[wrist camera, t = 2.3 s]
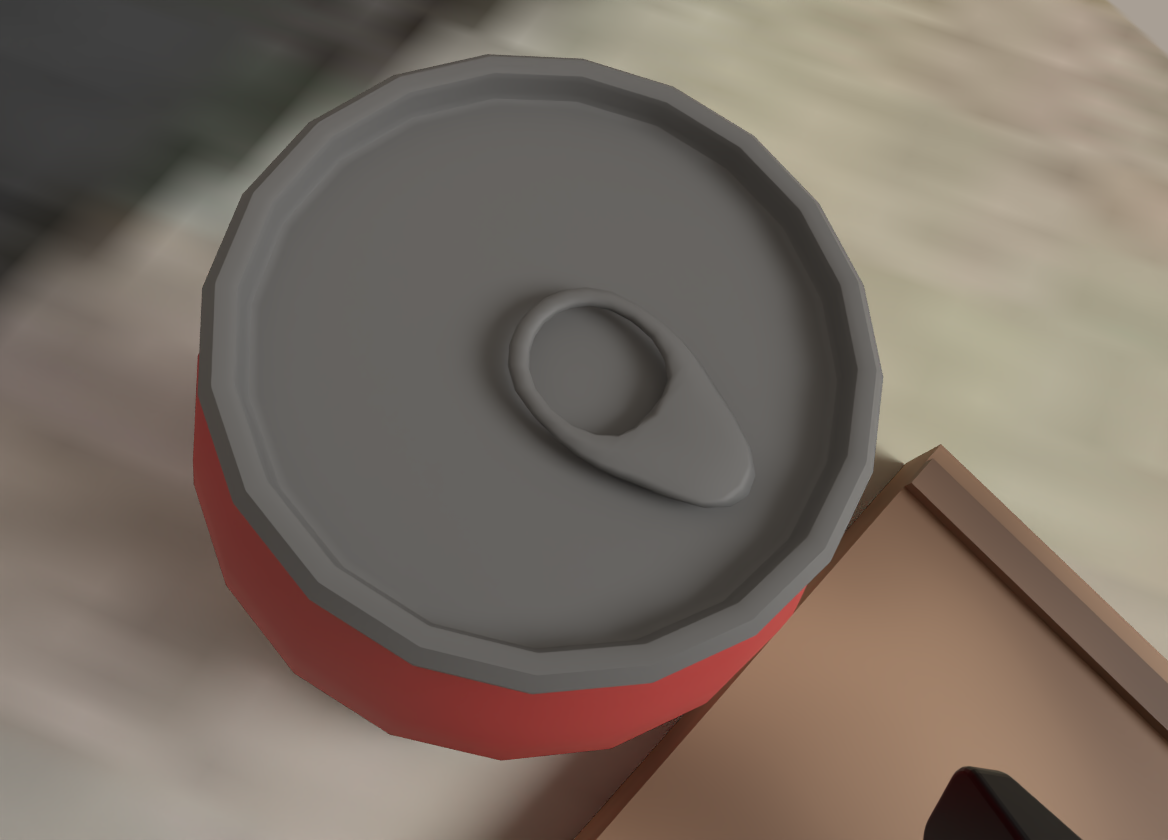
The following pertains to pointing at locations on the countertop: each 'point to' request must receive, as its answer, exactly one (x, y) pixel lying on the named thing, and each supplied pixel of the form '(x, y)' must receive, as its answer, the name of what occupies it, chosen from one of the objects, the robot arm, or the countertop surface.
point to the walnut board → (919, 691)
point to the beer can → (528, 403)
